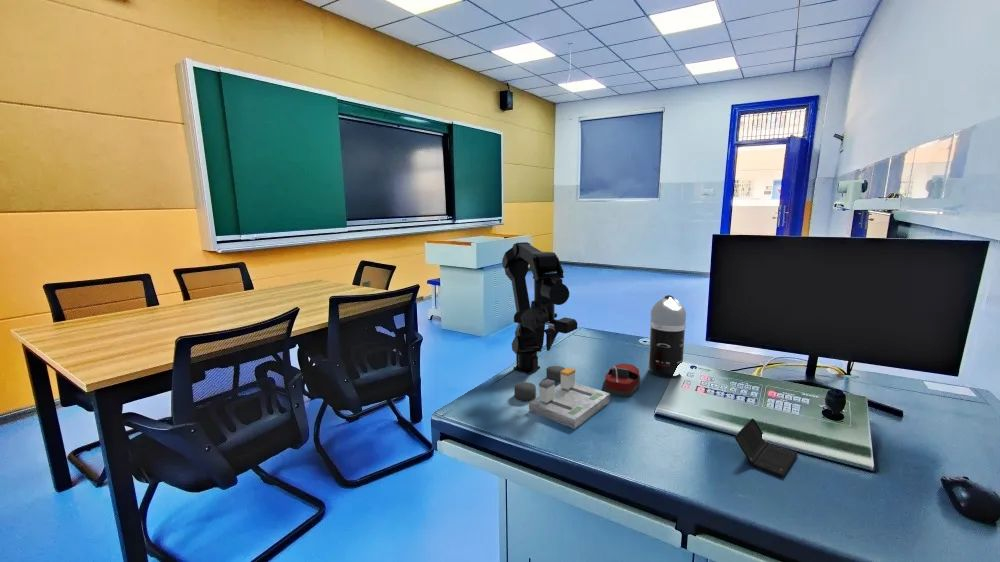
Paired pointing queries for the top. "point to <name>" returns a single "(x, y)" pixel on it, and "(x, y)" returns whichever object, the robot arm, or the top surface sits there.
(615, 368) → the bumper car
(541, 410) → the panel
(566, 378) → the switch
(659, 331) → the spray bottle
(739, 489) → the top surface
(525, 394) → the coil
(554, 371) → the coil
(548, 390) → the switch
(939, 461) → the top surface
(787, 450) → the handheld gaming console
